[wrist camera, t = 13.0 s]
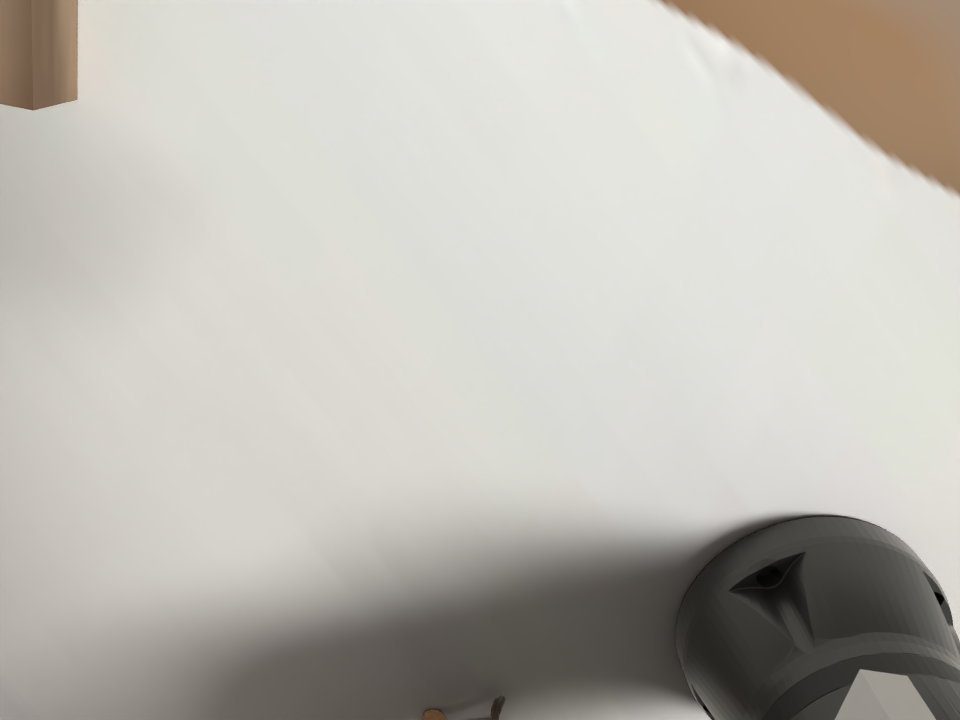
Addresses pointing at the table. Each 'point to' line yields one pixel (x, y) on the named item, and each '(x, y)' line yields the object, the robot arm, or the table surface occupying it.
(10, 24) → the walnut base
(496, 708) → the lion figurine
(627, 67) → the table surface
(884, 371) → the table surface
